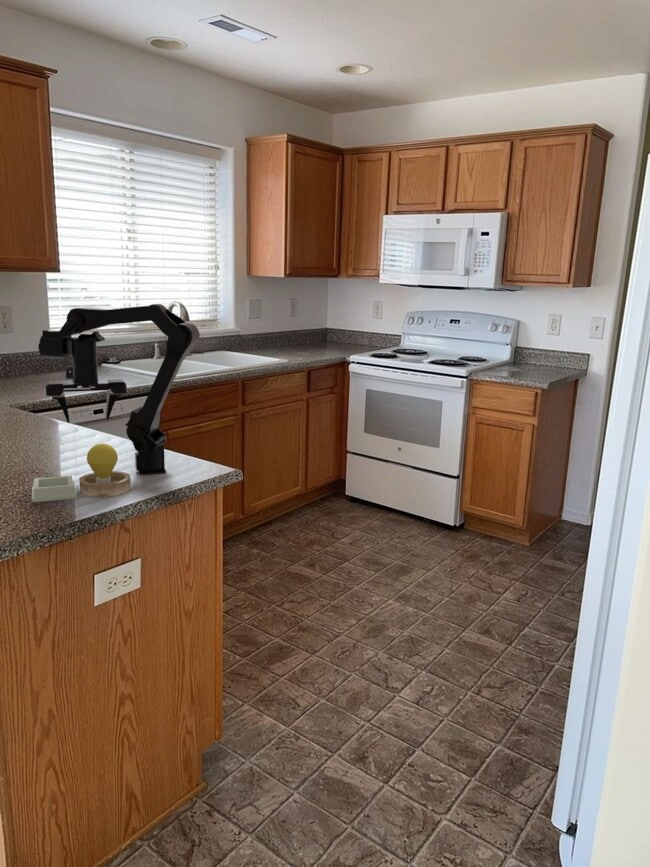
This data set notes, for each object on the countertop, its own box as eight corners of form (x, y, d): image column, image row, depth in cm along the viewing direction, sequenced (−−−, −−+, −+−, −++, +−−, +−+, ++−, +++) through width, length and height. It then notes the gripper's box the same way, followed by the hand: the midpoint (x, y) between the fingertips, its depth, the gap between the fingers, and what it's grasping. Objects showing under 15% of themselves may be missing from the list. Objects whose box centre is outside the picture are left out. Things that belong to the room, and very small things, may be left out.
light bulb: (124, 486, 154) (122, 444, 152) (98, 492, 149) (96, 449, 147) (109, 480, 159) (106, 439, 156) (82, 486, 154) (80, 443, 151)
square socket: (74, 486, 156) (73, 474, 155) (76, 498, 148) (75, 486, 147) (32, 489, 153) (31, 478, 152) (31, 502, 145) (30, 490, 144)
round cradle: (127, 480, 161) (127, 469, 161) (132, 494, 151) (132, 482, 151) (79, 484, 157) (78, 473, 157) (81, 499, 147) (80, 487, 147)
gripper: (119, 354, 175) (122, 413, 179) (42, 356, 168) (46, 416, 171) (125, 360, 165) (128, 421, 169) (44, 361, 158) (48, 426, 162)
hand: (87, 421), depth 168 cm, fingers open, 9 cm apart
